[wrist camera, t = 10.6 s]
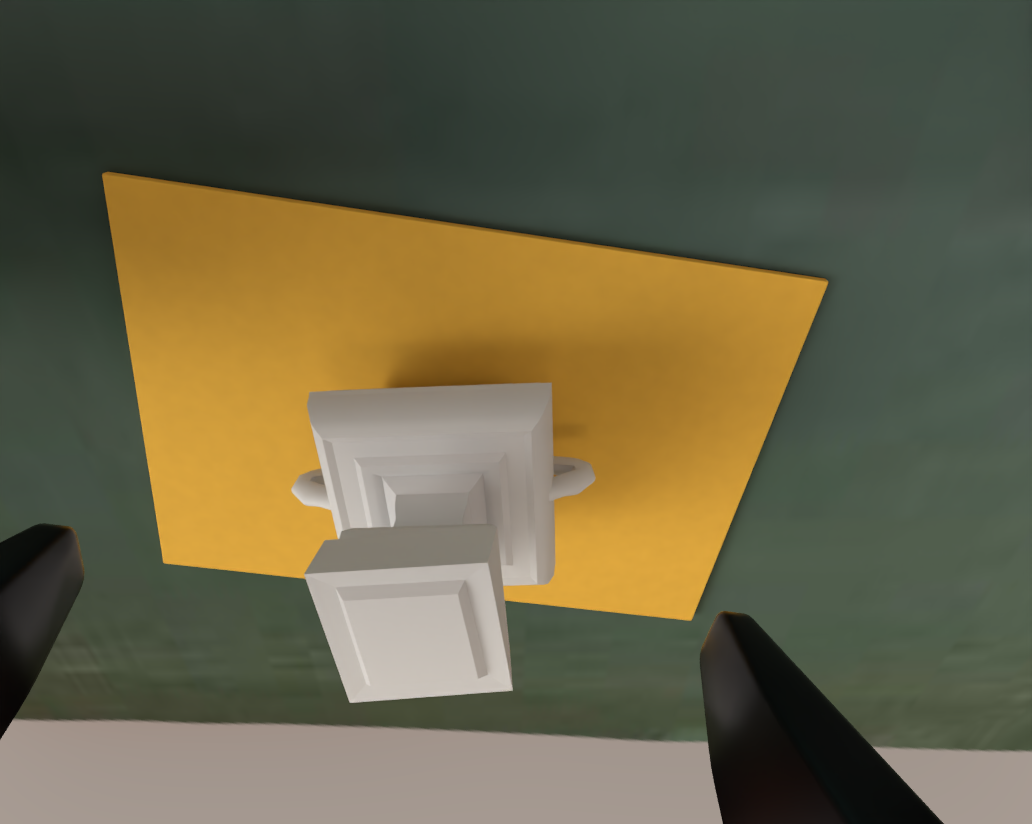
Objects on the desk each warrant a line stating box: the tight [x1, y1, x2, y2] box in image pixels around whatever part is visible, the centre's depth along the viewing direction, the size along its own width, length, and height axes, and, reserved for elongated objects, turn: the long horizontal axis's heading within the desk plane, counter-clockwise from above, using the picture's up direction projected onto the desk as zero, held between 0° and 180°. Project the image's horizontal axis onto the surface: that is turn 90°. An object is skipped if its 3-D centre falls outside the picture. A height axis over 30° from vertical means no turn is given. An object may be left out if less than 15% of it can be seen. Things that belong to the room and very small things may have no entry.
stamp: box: [292, 383, 595, 703], centre depth 19 cm, size 9×7×8 cm
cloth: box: [102, 172, 828, 621], centre depth 23 cm, size 20×14×1 cm
